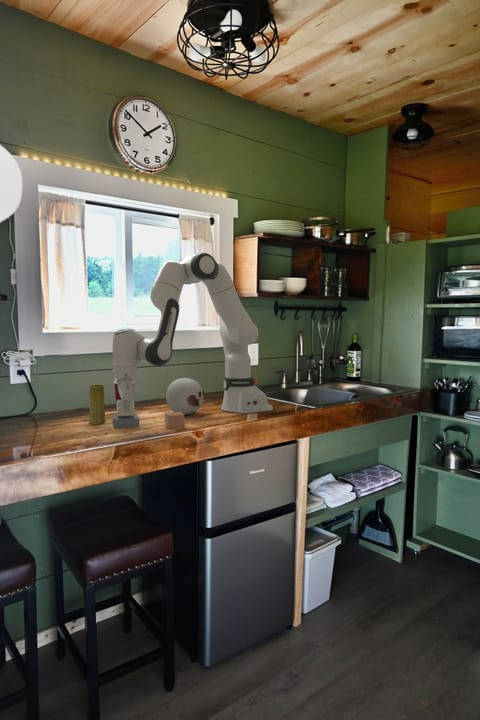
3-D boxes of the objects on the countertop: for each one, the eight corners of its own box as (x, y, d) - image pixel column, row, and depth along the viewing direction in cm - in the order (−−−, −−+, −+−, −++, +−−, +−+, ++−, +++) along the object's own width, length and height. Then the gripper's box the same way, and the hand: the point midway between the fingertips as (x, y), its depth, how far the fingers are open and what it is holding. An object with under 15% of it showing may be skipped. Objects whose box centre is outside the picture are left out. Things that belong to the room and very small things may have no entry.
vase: (108, 421, 190) (108, 384, 188) (99, 424, 184) (98, 387, 183) (95, 420, 192) (94, 383, 190) (85, 423, 186) (84, 385, 185)
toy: (196, 419, 195) (196, 381, 194) (160, 416, 199) (160, 379, 197) (208, 411, 210) (208, 376, 208) (174, 409, 213) (174, 375, 212)
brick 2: (180, 424, 187) (180, 411, 186) (184, 428, 181) (184, 414, 181) (165, 425, 185) (164, 412, 184) (168, 429, 179) (168, 415, 179)
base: (136, 421, 191) (136, 413, 191) (139, 426, 183) (139, 418, 182) (112, 422, 188) (112, 414, 188) (114, 427, 180) (114, 419, 179)
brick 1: (133, 412, 189) (132, 399, 188) (134, 415, 183) (134, 401, 183) (116, 412, 187) (116, 399, 186) (118, 416, 181) (117, 402, 181)
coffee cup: (129, 418, 196) (129, 380, 194) (110, 417, 198) (110, 379, 196) (138, 413, 204) (138, 377, 203) (119, 412, 206) (119, 377, 204)
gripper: (136, 376, 175) (137, 415, 176) (131, 369, 194) (131, 404, 195) (118, 377, 173) (119, 416, 174) (114, 369, 192) (115, 405, 193)
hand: (125, 409), depth 185 cm, fingers closed on brick 1, 6 cm apart
